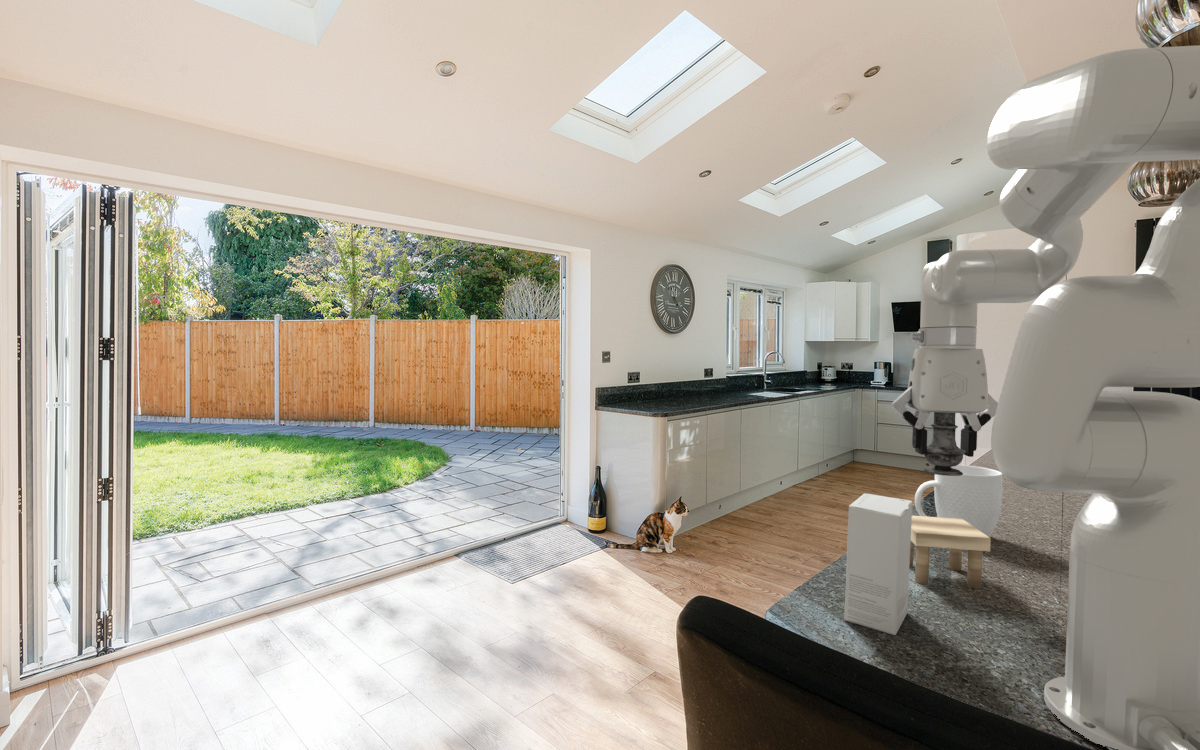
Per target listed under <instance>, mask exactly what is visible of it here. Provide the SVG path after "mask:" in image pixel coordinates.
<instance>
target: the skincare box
mask: <svg viewBox="0 0 1200 750" xmlns="http://www.w3.org/2000/svg"><path fill="white" fill-rule="evenodd" d="M912 516H913V501H912V500H909V499H903V498H897V497H889V496H886V495H885V496H884V495H878V494H871V493H863V494H862V495H861V496H859V497H858V498H857V499H856V500H854V501H853V502H852V503H850V504H849V505H848V520H847V539H846V540H847V543H846V544H847V545H846V563H845V564H846V568H845V569H846V570H845V571H846V572H845V589H844V590H845V591H844V593H845V595H844V611H843V613H844V614H843V619H844V621H846V622H849V623H853V624H856V625H860V626H863V627H865V628H870V629H873V630H876V631H879V632H883V633H886V634H890V635H892V636H896V635H897V633H898V631H899V629H900V627H901V626H902V624H903V622H904V620H905V618H906V617H907V614H908V611H909V609H908V605H909V603H908V602H909V600H908V599H909V582H910V579H909V578H910V567H909V564H910V542H911V522H912Z"/></svg>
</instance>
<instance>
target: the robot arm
mask: <svg viewBox="0 0 1200 750" xmlns="http://www.w3.org/2000/svg"><path fill="white" fill-rule="evenodd" d="M990 123H991V124H990V127H989V129H988V133H987V137H986V138H987V139H986V149H987V155H988V157H989V160H991V162H992V163H993V165H995V166H997V167H998V168H1000V169H1003V170H1007V171H1011V170H1012V171H1014V170H1016V172H1015V173H1014V174H1013V175H1012V177H1011V178H1010V180H1008V182H1007V183H1006V184H1005V186H1004V187H1003V189H1002V191H1001V193H1000V196H999V201H998V202H999V208H1000V211H1001V214H1002V215H1003V217H1004V218H1005V220H1006V221H1008V223H1009V224H1010V225H1012V226H1013V227H1014V228H1016V229H1018V230H1019V231H1021V232H1023V233H1025V234H1028V236H1031V237H1034V238H1036V240H1035V241H1034V242H1033V243H1032V244H1031V245H1030V246H1029V247H1027V248H1024V249H1023V248H1022V249H1019V248H1018V249H1017V248H1016V249H1015V248H1013V249H1012V248H1008V249H1006V248H1004V249H1003V248H1001V249H960V250H959V249H958V250H954V251H953V250H952V251H949V252H947V253H945V254H943V255H942V256H941V257H940V258H939V259H937V260H934V261H931V262H929V263H927V264H925V266H924V267H923V269H922V271H921V286H920V287H921V289H920V290H921V291H920V292H921V294H920V321H919V322H920V323H919V324H920V325H919V326H920V328H919V329H918V331H915V332H910V334H909V340H910V341H911V342H915V343H917V344H918V346H919V348H915V349H914V352H913V355H912V361H911V364H910V370H909V375H908V384H907V389H905V390H904V391H903V392H902V393H901V394H900V395H898V397H897V398H896V399H894V401H892V402H891V404H890V406H891V408H893V409H894V410H895V412H897V413H898V414H899V415H900V416H901V417H902V418H903V419H904V420H905V421H906V423H908V424H909V425H910V426H911V427H912V435H911V436H912V437H911V438H912V439H911V442H912V443H911V446H912V448H914V451H915V453H917V454H919V455H921V456H922V455H924V456H925V454H926V453H927V446H928V430H927V429H926V428H925V426H926V425H925V424H926V422H927V420H928V418H929V416H930V414H931V413H934V412H940V413H955V414H959V415H960V418H961V419H962V422H963V424H964V428H962V429H960V446H959V448H960V449H961V450H964V451H966V453H965V454H963V456H967V457H968V458H969V457H970V458H971V457H974V453H975V452H976V451H977V449H978V447H977V446H978V432H979V431H981V430H982V427H984V426H985V425H986V424H987V423H988V422H990V421H991V419H992V418H993V421H992V428H991V439H990V440H991V442H990V444H991V445H990V446H991V453H992V454H991V455H992V457H993V461H994V463H995V465H996V468H997V470H998V471H999V472H1001V473H1002V475H1003V477H1004V478H1005V479H1006V480H1008V481H1009V482H1011V483H1013V484H1014V485H1016V486H1019V487H1021V488H1024V489H1028V490H1032V491H1037V492H1038V491H1039V492H1052V493H1070V494H1071V493H1072V494H1073V493H1075V494H1091V495H1090V497H1088V499H1087V501H1086V502H1085V503H1084V505H1083V506H1081V509H1080V510H1079V512H1078V514H1077V516H1076V518H1075V520H1074V523H1073V527H1072V529H1071V535H1070V547H1069V550H1070V551H1069V567H1068V569H1069V570H1068V571H1069V572H1068V588H1067V589H1068V590H1067V591H1068V592H1067V613H1066V614H1067V616H1066V639H1065V641H1066V643H1065V644H1066V645H1065V665H1064V666H1065V667H1064V668H1065V669H1064V675H1063V676H1058V677H1055V678H1052V679H1050V680H1049V681H1048V682H1046V683H1045V685H1044V689H1043V690H1044V691H1043V693H1044V694H1043V699H1044V700H1043V701H1044V702H1045V704H1046V707H1047V708H1048V710H1049V711H1050V710H1051V711H1050V712H1051V713H1052V714H1053V715H1054V714H1055V715H1056V716H1057V717H1056V716H1055V715H1054V716H1055V717H1056V718H1057V719H1058V720H1059V719H1060V720H1059V721H1060V722H1061V723H1062V724H1064V725H1065V726H1066V727H1067V728H1069V729H1070V728H1071V729H1070V730H1072V731H1073V730H1074V731H1073V732H1075V731H1076V732H1078V733H1080V734H1081V735H1083V736H1085V737H1084V739H1086V738H1087V739H1086V740H1088V739H1089V740H1088V741H1090V742H1092V743H1094V744H1096V745H1097V744H1100V745H1103V746H1108V747H1112V748H1114V749H1119V750H1200V400H1198V399H1196V398H1194V397H1189V396H1186V395H1181V394H1175V393H1169V392H1162V391H1161V392H1160V391H1148V390H1147V391H1146V390H1145V391H1142V390H1141V391H1139V390H1138V391H1137V390H1136V391H1135V390H1133V391H1131V390H1104V389H1105V388H1109V387H1110V388H1113V387H1114V388H1122V387H1123V388H1198V387H1200V177H1199V178H1197V179H1196V180H1195V181H1194V182H1193V183H1192V184H1190V186H1189V187H1187V188H1186V189H1185V190H1184V191H1183V192H1182V193H1181V194H1180V195H1179V196H1178V197H1177V198H1176V199H1175V201H1173V202H1172V204H1170V205H1169V207H1168V208H1167V209H1166V211H1165V212H1164V213H1163V215H1162V216H1161V218H1160V219H1159V221H1158V222H1157V225H1156V227H1155V229H1154V233H1153V235H1152V238H1151V242H1150V244H1149V247H1148V250H1147V252H1146V254H1145V257H1144V259H1143V261H1142V263H1141V265H1140V266H1139V268H1138V269H1137V271H1135V272H1133V274H1131V275H1130V274H1129V275H1087V276H1079V277H1073V278H1068V279H1065V280H1063V278H1065V277H1066V276H1067V275H1068V274H1069V273H1070V271H1072V270H1073V268H1074V267H1075V265H1076V263H1077V260H1078V258H1079V256H1080V253H1081V250H1082V245H1083V242H1084V241H1083V240H1084V239H1083V238H1084V231H1083V225H1082V224H1083V223H1082V221H1081V218H1082V216H1084V214H1086V212H1087V211H1089V210H1090V208H1091V207H1092V206H1094V204H1096V202H1097V201H1098V200H1099V199H1101V198H1102V197H1103V195H1104V194H1105V193H1106V192H1107V191H1108V190H1109V189H1110V188H1111V187H1112V186H1114V184H1115V183H1116V182H1118V180H1120V179H1121V177H1122V176H1123V175H1125V173H1126V172H1127V171H1128V170H1130V168H1131V167H1132V166H1133V165H1134V164H1135V163H1140V162H1141V163H1143V162H1144V163H1145V162H1174V161H1175V162H1176V161H1195V160H1196V161H1197V160H1198V161H1199V160H1200V45H1199V44H1198V45H1184V46H1183V45H1182V46H1181V45H1180V46H1178V45H1177V46H1161V47H1160V46H1159V47H1146V48H1133V49H1132V48H1131V49H1124V50H1123V49H1122V50H1116V51H1112V52H1111V51H1110V52H1108V53H1102V54H1099V55H1096V56H1093V57H1090V58H1087V59H1085V60H1082V61H1079V62H1077V63H1074V64H1072V65H1069V66H1066V67H1064V68H1061V69H1057V70H1055V71H1052V72H1049V73H1046V74H1044V75H1041V76H1038V77H1036V78H1033V79H1032V80H1029V81H1027V82H1026V83H1024V84H1023V85H1021V86H1020V87H1019V88H1017V89H1016V90H1014V91H1013V92H1012V93H1011V94H1010V95H1009V96H1008V97H1007V99H1006V100H1005V101H1004V102H1003V103H1002V104H1001V106H1000V107H999V108H998V110H997V111H996V114H995V115H994V116H993V119H992V122H990ZM1031 301H1033V302H1032V304H1030V306H1029V308H1028V309H1027V311H1026V313H1025V314H1024V317H1023V318H1022V321H1021V323H1020V327H1019V329H1018V332H1017V336H1016V339H1015V342H1014V346H1013V349H1012V352H1011V357H1010V359H1009V363H1008V367H1007V371H1006V374H1005V378H1004V382H1003V385H1002V388H1001V392H1000V395H999V398H998V401H997V400H995V399H994V397H992V395H991V394H989V386H988V385H989V384H988V373H987V365H986V359H985V355H984V351H983V348H977V333H978V332H977V330H978V329H977V327H978V304H1021V303H1022V304H1023V303H1027V302H1028V303H1029V302H1031ZM906 404H907V405H908V406H909V407H910V408H912V409H914V410H915V411H914V412H913V413H912V412H911V411H910V410H909V409H908V408H907V407H906ZM1076 732H1075V733H1076ZM1078 733H1077V734H1078ZM1080 734H1079V735H1080ZM1081 735H1080V736H1081ZM1083 736H1082V737H1083Z"/></svg>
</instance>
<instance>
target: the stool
mask: <svg viewBox="0 0 1200 750" xmlns="http://www.w3.org/2000/svg"><path fill="white" fill-rule="evenodd" d="M991 539H992V538H991V537H990V536H989V537H988V536H987V535H985V534H984V533H982V532H981V531H979V530H978V529H977V528H975V527H974V526H972V525H971V524H969V523H968V522H966V521H965V520H963V519H957V518H942V517H938V516H928V517H927V515H926V516H920V515H912V522H911V542H910V564H909V568H911V567H915V572H914V574H915V575H914V581H915V582H916V583H918V584H921V585H929V583H930V582H929V581H930V580H929V578H930V548H938V549H939V548H941V549H942V548H943V549H948V569H950V570H952V571H956V572H961V571H962V565H963V561H962V560H963V550H964V551H965V550H966V551H967V572H966V574H967V575H966V577H967V578H966V586H967V587H968V588H971V589H975V590H980V589H981V590H982V582H983V580H982V578H983V577H982V575H983V554H984V553H983V552H991V542H992V541H991ZM914 549H915V566H914Z"/></svg>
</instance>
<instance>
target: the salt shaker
mask: <svg viewBox="0 0 1200 750" xmlns="http://www.w3.org/2000/svg"><path fill="white" fill-rule="evenodd" d="M930 427H932V439H931V443H929V445H927V453H926V454H925V455H924V458H925V459H926V461H927V462H928V463H930V464H931V465H933V466H927V467H926V468H923V472H924V473H927V474H931V475H935V474H937V475H945V476H961V475H963V473H962V472H960V471H959V470H957V469H954V468H951V467H953V466H957V465H961V463H962V461H963V459H964V454H965V453H966V451H964V450H961V449H960V447H958V446H957V442H956V429H958V427H959V426H958V425H956V413H940V412H933V423H932V424H930Z"/></svg>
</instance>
